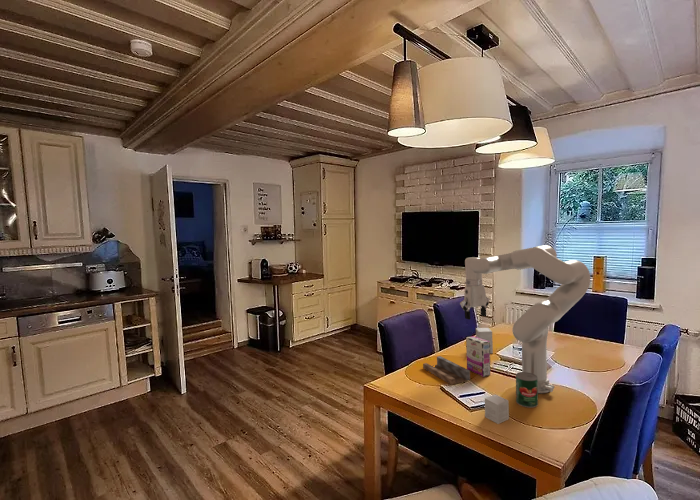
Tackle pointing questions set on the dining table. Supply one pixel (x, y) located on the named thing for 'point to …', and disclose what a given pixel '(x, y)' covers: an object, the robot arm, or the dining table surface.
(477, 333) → the supplement box
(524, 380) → the canned tomato
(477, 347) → the candy bar box
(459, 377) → the grey channel tray
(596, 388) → the dining table surface
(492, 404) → the grey block
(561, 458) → the dining table surface
